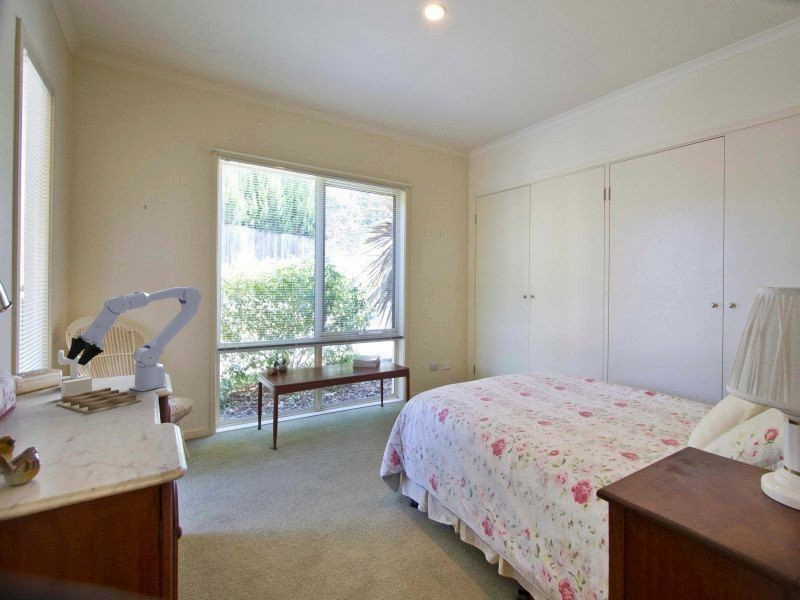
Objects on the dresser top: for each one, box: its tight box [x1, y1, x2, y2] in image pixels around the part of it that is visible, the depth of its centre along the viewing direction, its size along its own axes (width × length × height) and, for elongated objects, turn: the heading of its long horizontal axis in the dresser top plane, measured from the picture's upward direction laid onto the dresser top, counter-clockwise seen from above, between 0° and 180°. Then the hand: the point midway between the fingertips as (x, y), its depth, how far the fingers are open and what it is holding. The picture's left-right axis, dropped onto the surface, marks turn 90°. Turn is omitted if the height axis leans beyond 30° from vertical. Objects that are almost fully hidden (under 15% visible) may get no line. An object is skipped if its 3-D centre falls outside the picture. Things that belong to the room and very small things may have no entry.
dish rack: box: [56, 387, 142, 415], centre depth 130 cm, size 16×18×3 cm
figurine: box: [57, 349, 91, 382], centre depth 148 cm, size 7×9×15 cm
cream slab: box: [60, 376, 93, 400], centre depth 136 cm, size 8×2×6 cm, turn 155°
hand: (75, 361), depth 134 cm, fingers open, 7 cm apart
